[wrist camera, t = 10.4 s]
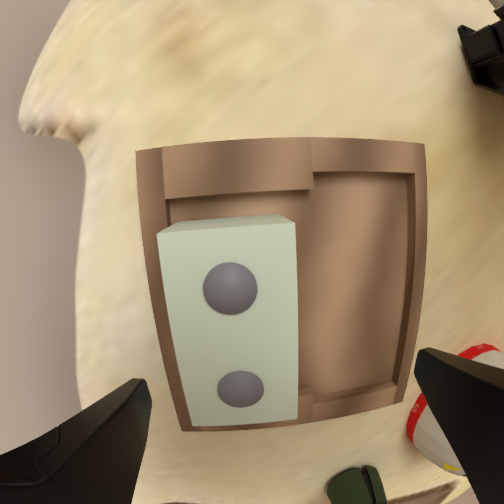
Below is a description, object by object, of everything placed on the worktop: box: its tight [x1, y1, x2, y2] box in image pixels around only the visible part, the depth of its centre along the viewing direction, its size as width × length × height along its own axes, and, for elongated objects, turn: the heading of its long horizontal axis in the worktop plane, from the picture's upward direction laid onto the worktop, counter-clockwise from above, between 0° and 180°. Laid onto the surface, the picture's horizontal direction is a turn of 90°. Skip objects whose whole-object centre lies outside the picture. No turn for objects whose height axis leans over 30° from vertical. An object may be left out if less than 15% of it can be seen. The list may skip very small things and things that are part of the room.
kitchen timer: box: [407, 344, 504, 477], centre depth 17 cm, size 14×14×15 cm
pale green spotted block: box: [157, 214, 298, 426], centre depth 16 cm, size 6×11×5 cm, turn 4°
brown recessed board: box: [136, 137, 427, 431], centre depth 19 cm, size 18×20×2 cm
